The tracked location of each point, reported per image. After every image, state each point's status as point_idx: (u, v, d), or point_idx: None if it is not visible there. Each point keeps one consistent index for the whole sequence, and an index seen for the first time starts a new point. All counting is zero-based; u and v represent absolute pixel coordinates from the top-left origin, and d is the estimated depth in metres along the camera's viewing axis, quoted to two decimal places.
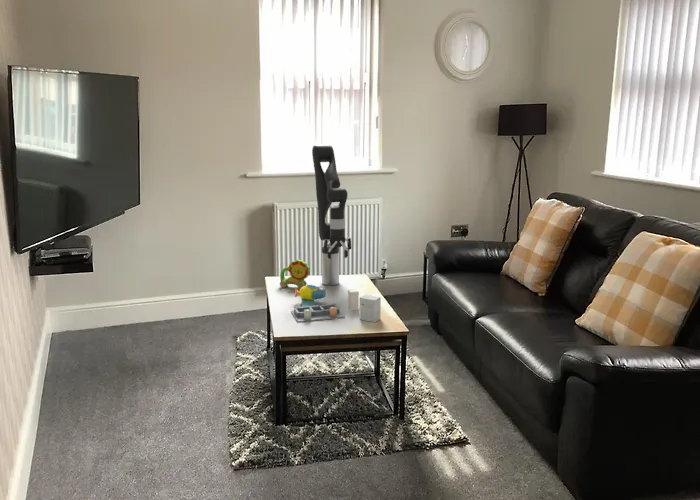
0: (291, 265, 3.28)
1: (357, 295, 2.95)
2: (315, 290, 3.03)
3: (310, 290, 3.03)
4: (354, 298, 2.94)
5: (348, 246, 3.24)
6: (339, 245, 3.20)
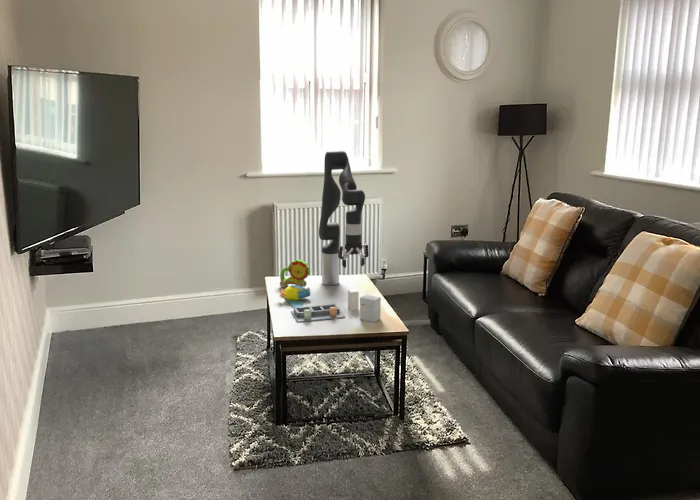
0: (291, 265, 3.28)
1: (357, 295, 2.95)
2: (300, 290, 3.07)
3: (296, 290, 3.06)
4: (354, 298, 2.94)
5: (365, 253, 2.94)
6: (355, 252, 2.91)
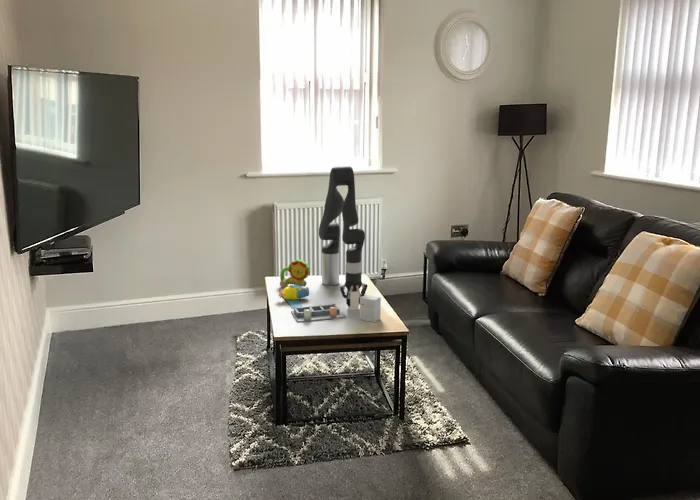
0: (291, 265, 3.28)
1: (357, 295, 2.95)
2: (299, 289, 3.07)
3: (294, 290, 3.06)
4: (354, 298, 2.94)
5: (361, 292, 2.98)
6: (354, 289, 2.94)
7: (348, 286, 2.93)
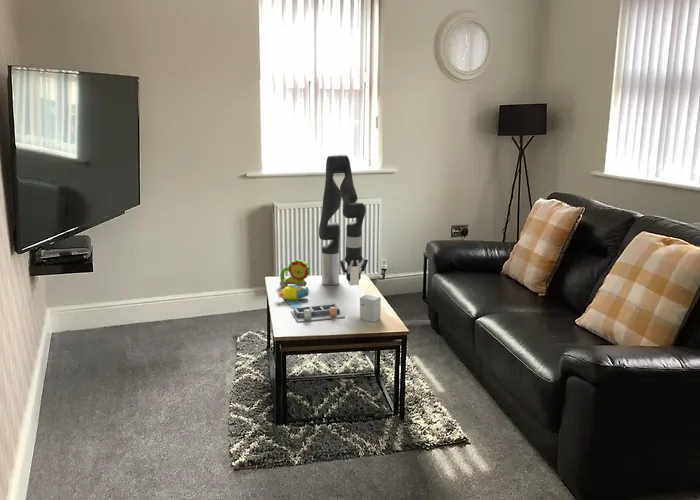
0: (291, 265, 3.28)
1: (357, 270, 2.92)
2: (299, 289, 3.07)
3: (294, 290, 3.06)
4: (354, 273, 2.92)
5: (361, 267, 2.95)
6: (354, 264, 2.92)
7: (348, 261, 2.90)
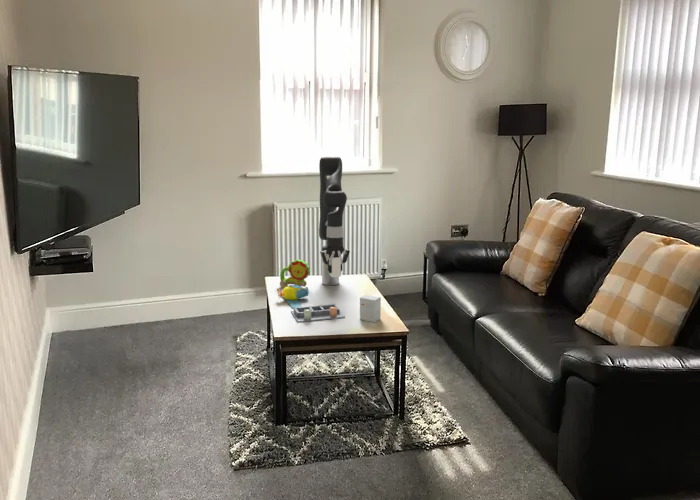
0: (291, 265, 3.28)
1: (339, 261, 2.83)
2: (299, 289, 3.08)
3: (294, 290, 3.06)
4: (336, 264, 2.83)
5: (343, 259, 2.86)
6: (335, 255, 2.83)
7: (329, 251, 2.81)
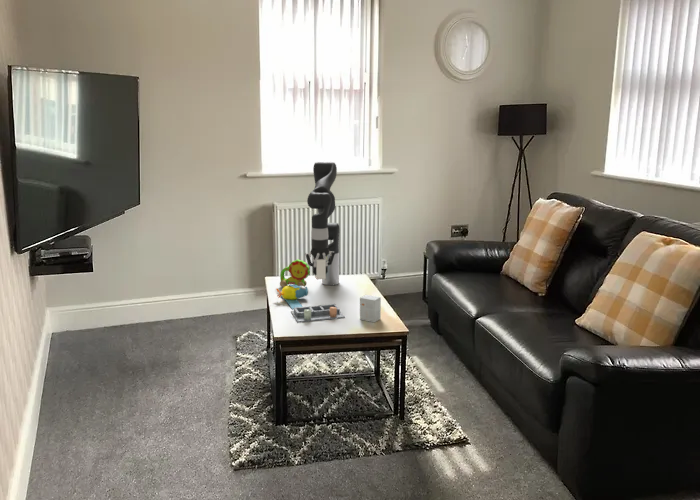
0: (291, 265, 3.28)
1: (324, 263, 2.79)
2: (298, 289, 3.07)
3: (293, 289, 3.06)
4: (321, 266, 2.79)
5: (328, 261, 2.83)
6: (320, 257, 2.79)
7: (314, 253, 2.78)
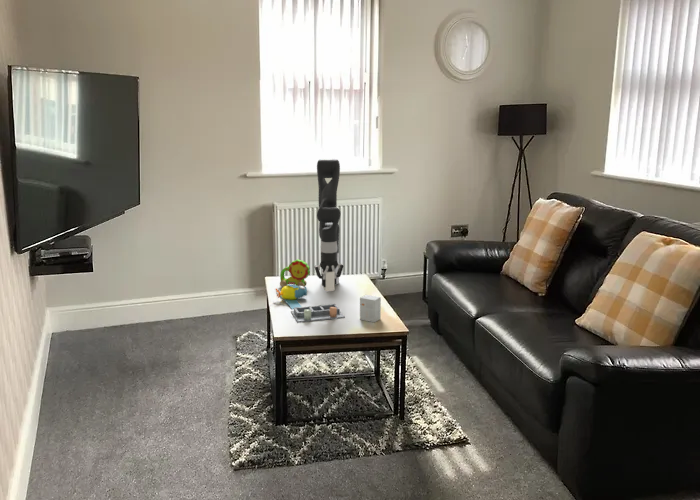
0: (291, 265, 3.28)
1: (333, 275, 2.86)
2: (297, 289, 3.08)
3: (292, 289, 3.06)
4: (330, 279, 2.86)
5: (337, 273, 2.90)
6: (329, 269, 2.86)
7: (323, 266, 2.85)
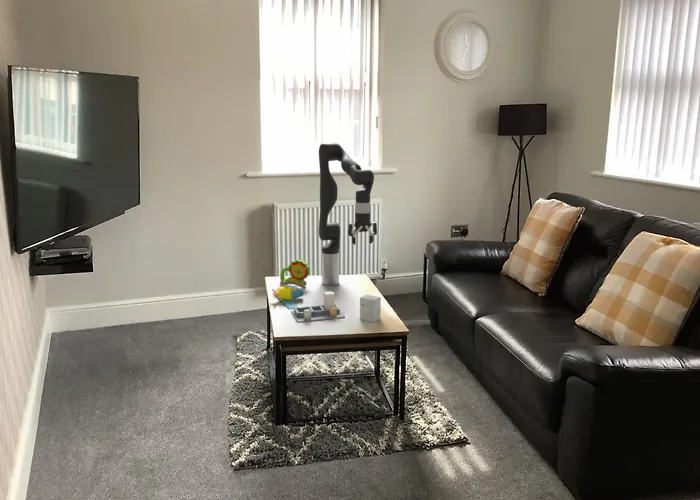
0: (291, 265, 3.28)
1: (333, 297, 2.89)
2: (294, 289, 3.07)
3: (289, 290, 3.06)
4: (330, 300, 2.89)
5: None
6: (364, 230, 3.04)
7: (358, 225, 3.03)
